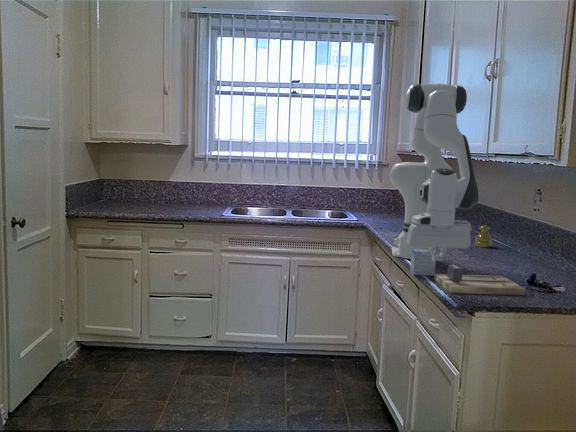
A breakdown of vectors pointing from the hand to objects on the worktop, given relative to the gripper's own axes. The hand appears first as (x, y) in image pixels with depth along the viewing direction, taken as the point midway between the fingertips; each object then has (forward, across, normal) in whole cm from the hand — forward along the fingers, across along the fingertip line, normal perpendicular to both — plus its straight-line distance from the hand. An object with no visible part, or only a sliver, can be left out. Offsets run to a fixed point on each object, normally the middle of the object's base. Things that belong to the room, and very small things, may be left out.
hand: (437, 261), depth 168 cm
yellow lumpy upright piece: (+7, -48, -74) cm, 88 cm away
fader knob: (+6, -6, -1) cm, 9 cm away
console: (+8, -14, -1) cm, 17 cm away
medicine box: (+8, 0, -16) cm, 18 cm away
